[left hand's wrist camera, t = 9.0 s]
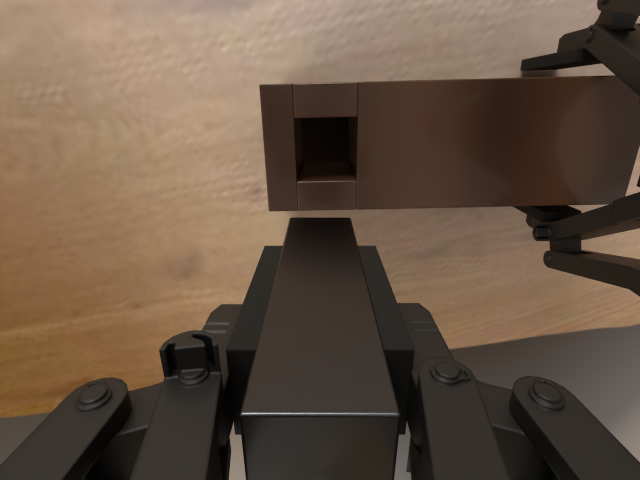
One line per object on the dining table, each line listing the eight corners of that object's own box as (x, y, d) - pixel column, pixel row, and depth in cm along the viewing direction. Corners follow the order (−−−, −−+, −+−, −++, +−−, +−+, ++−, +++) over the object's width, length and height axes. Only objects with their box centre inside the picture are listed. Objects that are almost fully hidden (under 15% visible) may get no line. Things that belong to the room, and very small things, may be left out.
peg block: (281, 186, 32) (268, 211, 25) (275, 88, 29) (259, 84, 22) (552, 180, 32) (623, 204, 24) (573, 81, 29) (660, 74, 22)
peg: (291, 271, 19) (249, 521, 8) (289, 217, 18) (237, 414, 7) (349, 272, 19) (390, 522, 8) (350, 217, 18) (402, 415, 7)
